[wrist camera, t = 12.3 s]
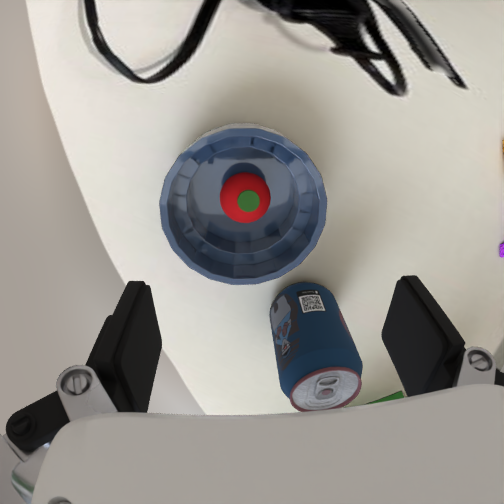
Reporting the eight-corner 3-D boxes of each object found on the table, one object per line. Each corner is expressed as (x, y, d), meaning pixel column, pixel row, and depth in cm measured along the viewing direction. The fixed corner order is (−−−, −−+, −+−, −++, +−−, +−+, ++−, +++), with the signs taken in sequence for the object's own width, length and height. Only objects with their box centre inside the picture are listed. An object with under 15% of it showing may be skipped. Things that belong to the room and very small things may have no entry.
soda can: (329, 326, 35) (359, 411, 24) (268, 331, 35) (280, 422, 24) (336, 274, 32) (378, 358, 21) (268, 278, 32) (284, 369, 21)
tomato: (218, 172, 26) (219, 174, 22) (265, 171, 27) (276, 173, 23) (219, 219, 27) (221, 229, 23) (266, 217, 28) (276, 227, 24)
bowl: (167, 126, 24) (153, 132, 20) (315, 124, 25) (332, 130, 21) (178, 257, 30) (169, 286, 26) (307, 254, 31) (318, 282, 26)
